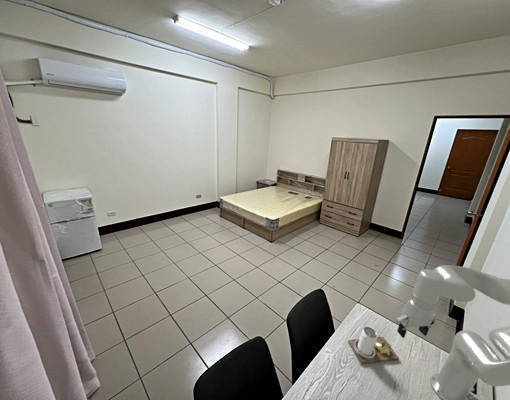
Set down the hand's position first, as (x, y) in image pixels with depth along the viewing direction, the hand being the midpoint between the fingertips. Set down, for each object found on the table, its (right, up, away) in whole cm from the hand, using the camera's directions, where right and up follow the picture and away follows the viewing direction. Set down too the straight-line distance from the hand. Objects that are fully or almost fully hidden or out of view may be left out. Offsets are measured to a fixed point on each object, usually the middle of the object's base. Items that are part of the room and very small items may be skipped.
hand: (411, 333), depth 87 cm
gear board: (-5, -21, +20) cm, 30 cm away
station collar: (-10, -20, +19) cm, 29 cm away
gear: (0, -20, +20) cm, 28 cm away
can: (-10, -20, +19) cm, 29 cm away
